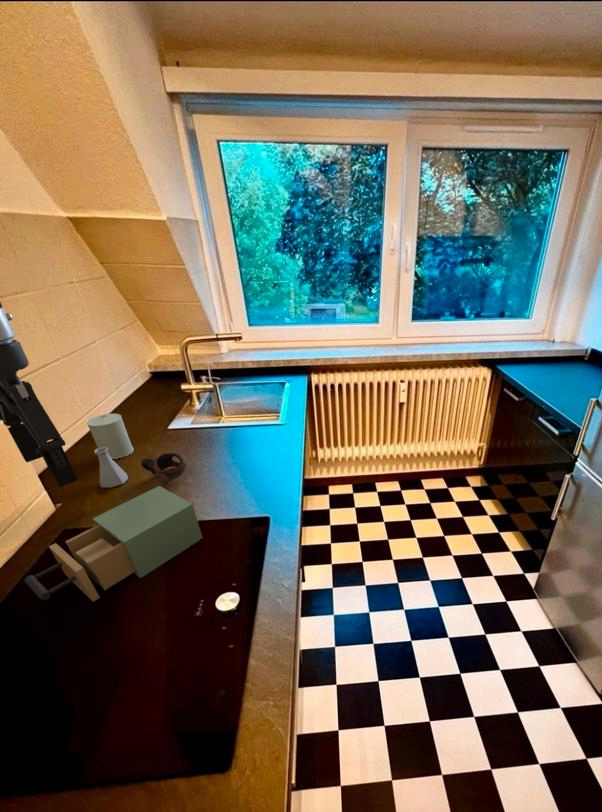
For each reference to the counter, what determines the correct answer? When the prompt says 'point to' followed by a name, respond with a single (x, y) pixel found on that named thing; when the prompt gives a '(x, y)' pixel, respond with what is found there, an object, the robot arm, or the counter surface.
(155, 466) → the pottery mug
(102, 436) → the can
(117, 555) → the drawer
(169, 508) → the cabinet
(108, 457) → the flask
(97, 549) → the block
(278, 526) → the counter surface
